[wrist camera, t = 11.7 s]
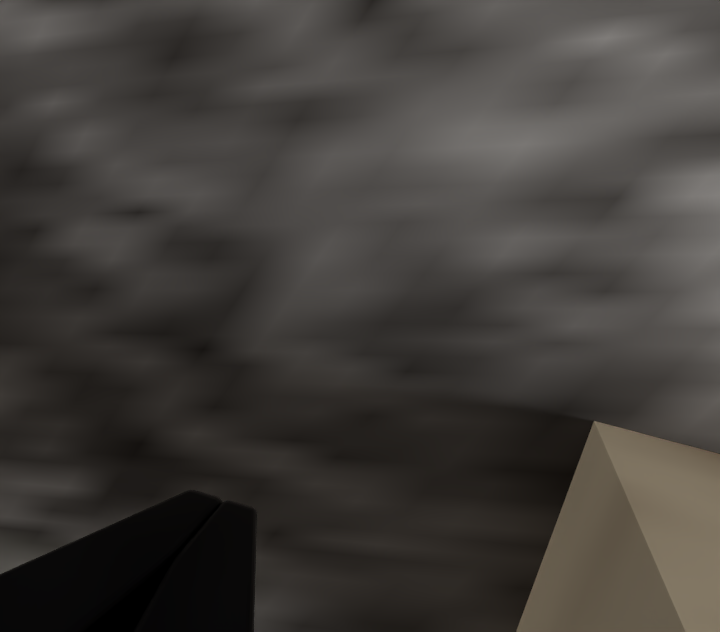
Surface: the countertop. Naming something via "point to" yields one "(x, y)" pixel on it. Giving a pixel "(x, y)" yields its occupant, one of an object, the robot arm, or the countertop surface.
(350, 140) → the countertop surface
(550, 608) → the block
